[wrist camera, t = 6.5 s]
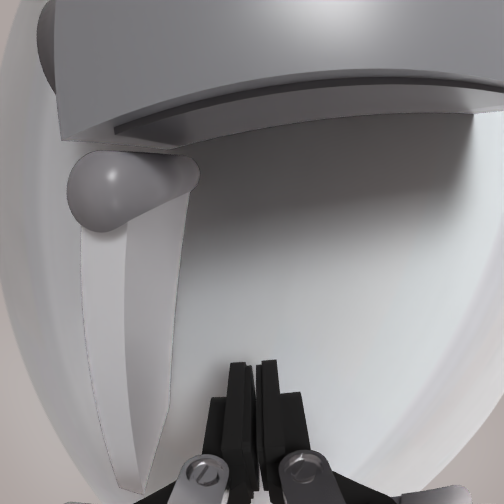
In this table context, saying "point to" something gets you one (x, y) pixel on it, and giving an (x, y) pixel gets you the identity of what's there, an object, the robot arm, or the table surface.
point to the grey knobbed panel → (262, 64)
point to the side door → (131, 293)
